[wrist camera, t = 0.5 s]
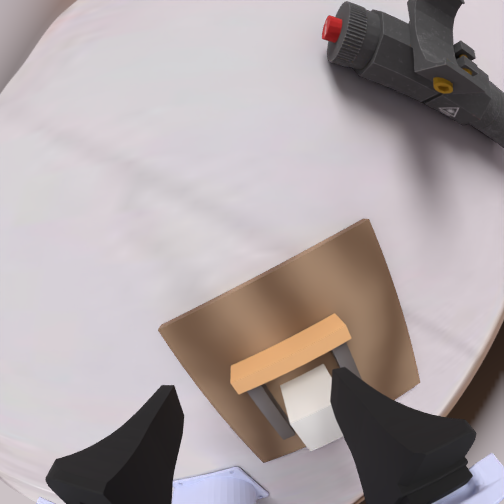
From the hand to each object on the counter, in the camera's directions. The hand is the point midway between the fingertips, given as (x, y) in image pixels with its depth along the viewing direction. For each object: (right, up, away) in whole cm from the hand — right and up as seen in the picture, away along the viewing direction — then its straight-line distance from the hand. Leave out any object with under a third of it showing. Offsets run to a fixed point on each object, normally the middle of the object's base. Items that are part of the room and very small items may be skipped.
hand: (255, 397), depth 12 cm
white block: (+5, -5, +10) cm, 13 cm away
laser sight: (+16, +22, +8) cm, 29 cm away
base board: (+5, -3, +11) cm, 12 cm away
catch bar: (+2, -1, +10) cm, 10 cm away
